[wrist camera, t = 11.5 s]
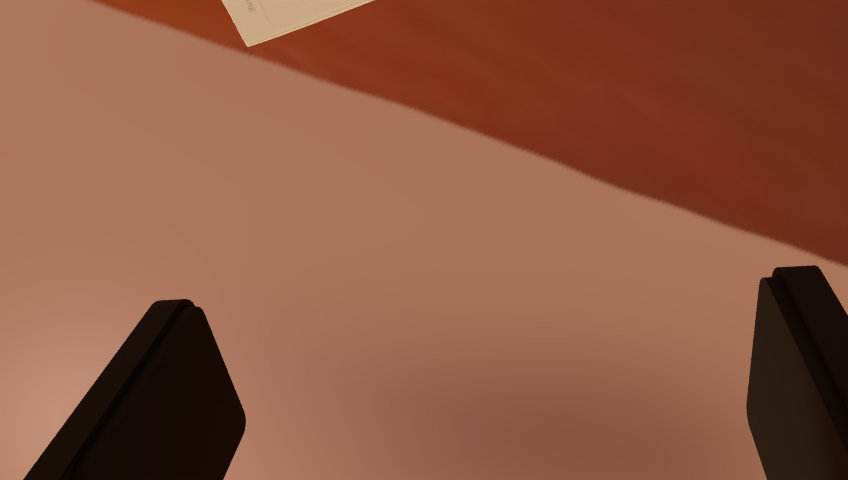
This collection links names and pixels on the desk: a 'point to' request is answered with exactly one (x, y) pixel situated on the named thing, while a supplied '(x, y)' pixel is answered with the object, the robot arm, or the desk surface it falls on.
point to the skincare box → (281, 15)
